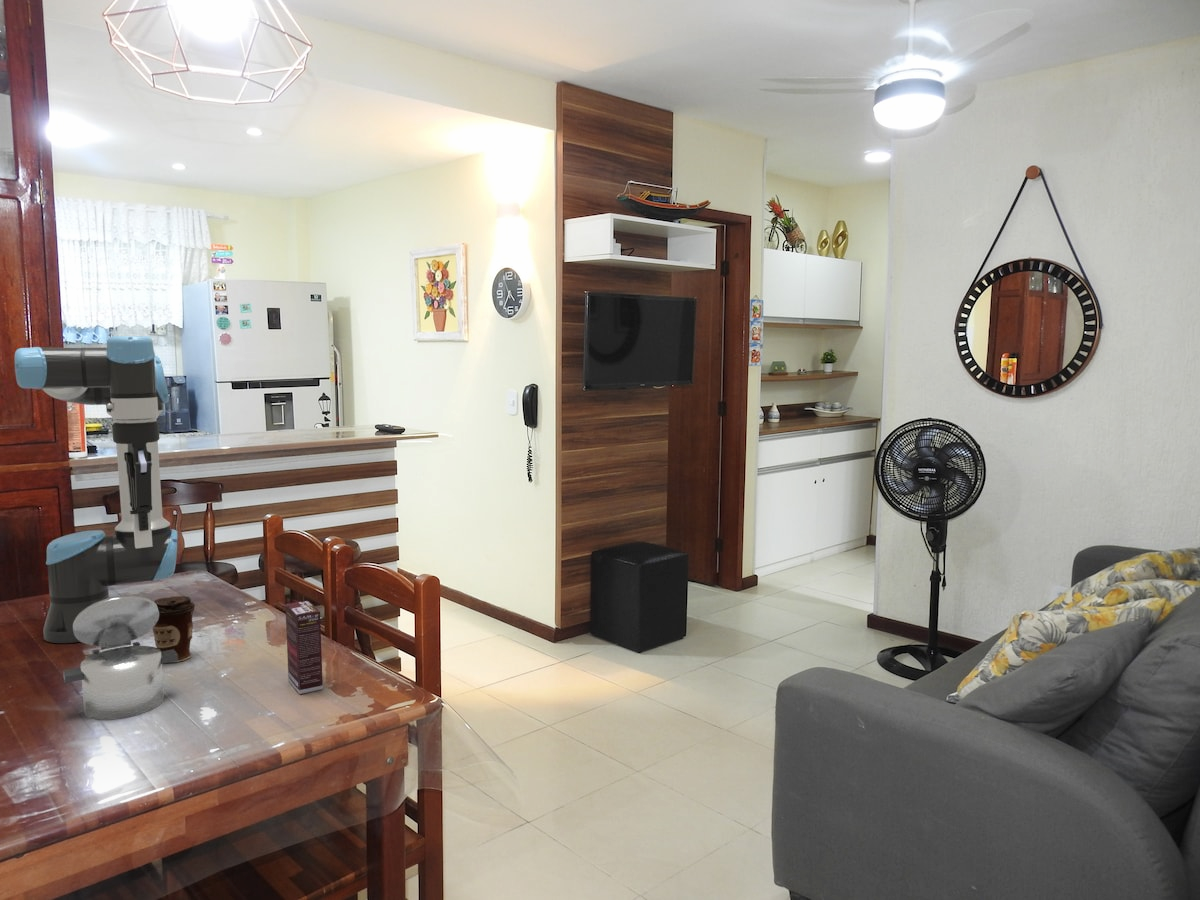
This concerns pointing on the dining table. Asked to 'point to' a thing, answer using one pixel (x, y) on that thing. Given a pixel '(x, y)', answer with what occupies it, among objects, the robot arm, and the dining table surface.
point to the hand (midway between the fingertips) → (143, 546)
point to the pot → (121, 681)
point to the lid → (115, 621)
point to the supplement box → (304, 647)
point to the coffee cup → (174, 625)
